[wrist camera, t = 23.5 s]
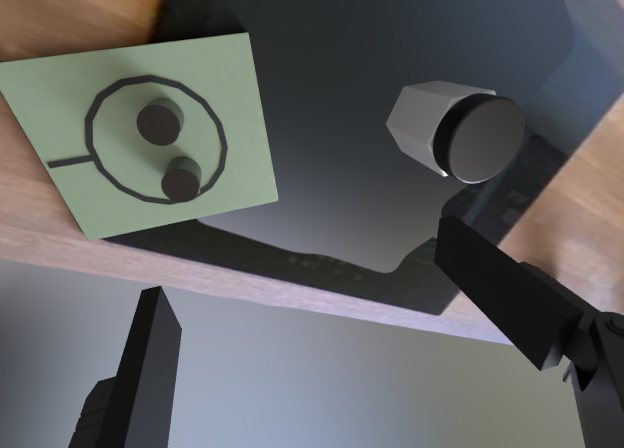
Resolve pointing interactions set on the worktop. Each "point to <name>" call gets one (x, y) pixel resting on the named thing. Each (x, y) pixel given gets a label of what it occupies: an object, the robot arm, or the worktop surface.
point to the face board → (128, 141)
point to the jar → (457, 129)
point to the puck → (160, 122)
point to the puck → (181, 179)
